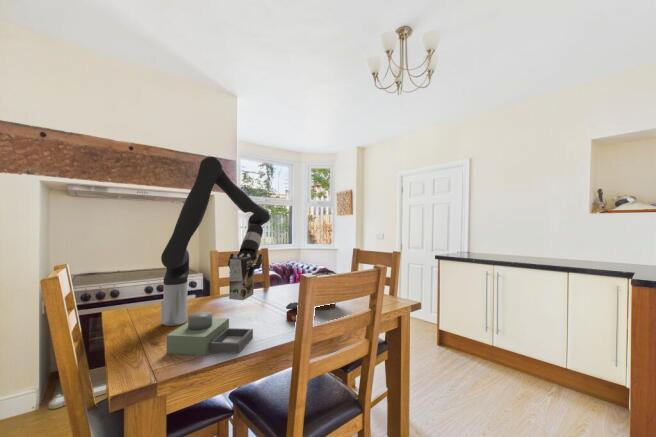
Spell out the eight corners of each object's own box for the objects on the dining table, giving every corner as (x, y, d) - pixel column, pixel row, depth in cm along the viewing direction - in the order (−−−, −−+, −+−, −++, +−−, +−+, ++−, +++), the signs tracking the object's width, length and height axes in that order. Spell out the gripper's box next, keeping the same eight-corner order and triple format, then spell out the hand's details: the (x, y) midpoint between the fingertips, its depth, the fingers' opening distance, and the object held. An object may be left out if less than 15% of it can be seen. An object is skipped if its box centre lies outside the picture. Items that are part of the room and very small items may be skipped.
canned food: (286, 330, 127) (277, 309, 129) (300, 321, 136) (291, 301, 138) (302, 323, 121) (293, 301, 123) (316, 314, 130) (307, 294, 132)
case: (313, 314, 134) (314, 276, 134) (300, 303, 152) (300, 270, 153) (347, 310, 141) (347, 274, 141) (330, 300, 159) (331, 268, 160)
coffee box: (243, 300, 111) (244, 259, 111) (228, 299, 112) (228, 258, 112) (254, 294, 120) (254, 256, 120) (240, 293, 121) (240, 255, 121)
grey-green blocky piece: (166, 353, 95) (166, 323, 95) (196, 332, 113) (196, 307, 113) (235, 356, 93) (236, 325, 93) (254, 334, 111) (254, 308, 111)
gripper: (232, 238, 124) (220, 270, 112) (264, 239, 123) (255, 271, 111) (237, 249, 129) (226, 281, 118) (268, 250, 128) (259, 281, 116)
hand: (240, 276), depth 114 cm, fingers closed on coffee box, 7 cm apart
